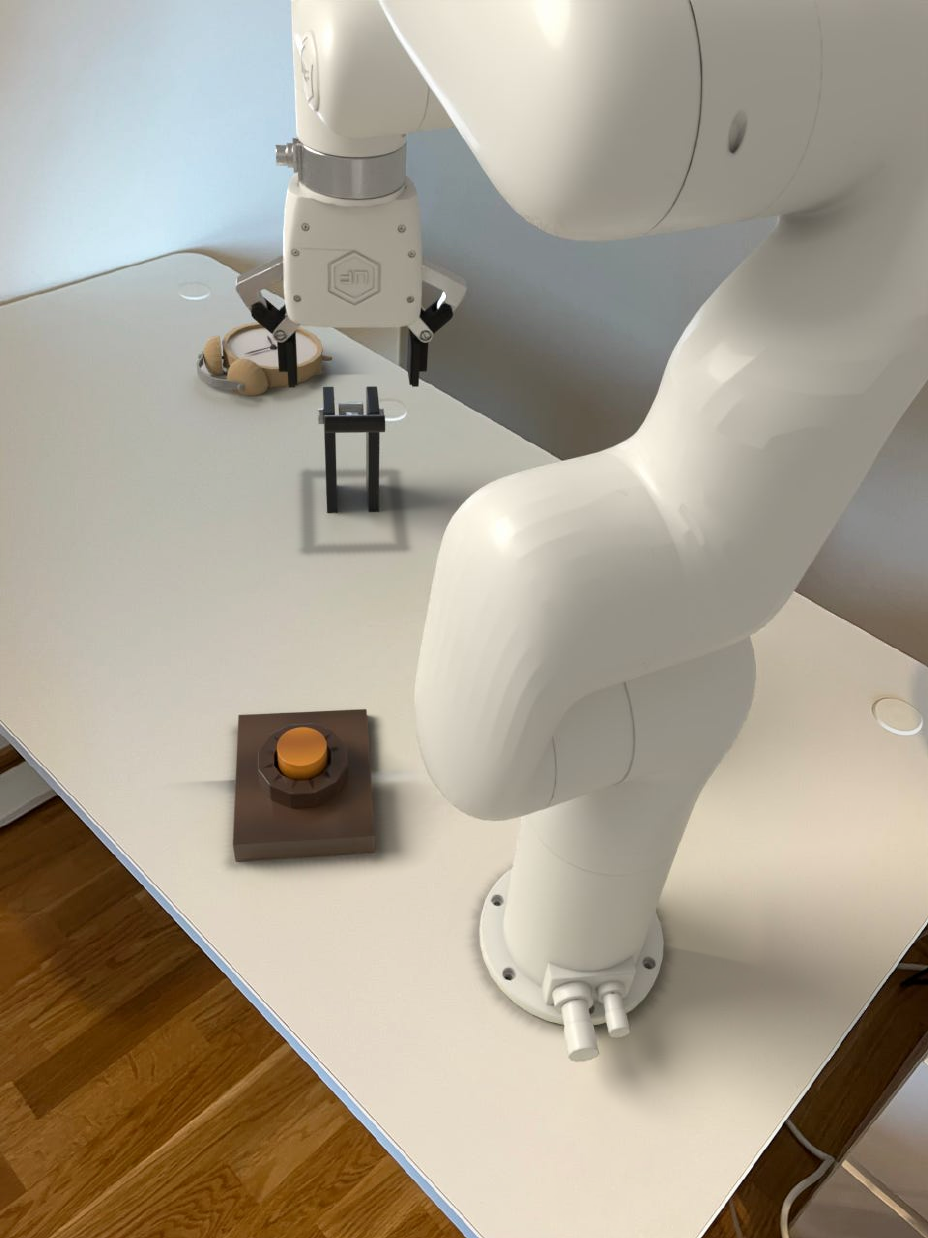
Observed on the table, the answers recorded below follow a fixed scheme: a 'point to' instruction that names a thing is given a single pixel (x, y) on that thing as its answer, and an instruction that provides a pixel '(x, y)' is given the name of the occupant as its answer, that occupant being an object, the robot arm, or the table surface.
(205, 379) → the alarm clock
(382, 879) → the table surface
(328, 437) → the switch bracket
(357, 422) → the switch lever
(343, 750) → the button block
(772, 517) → the robot arm
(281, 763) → the light button
